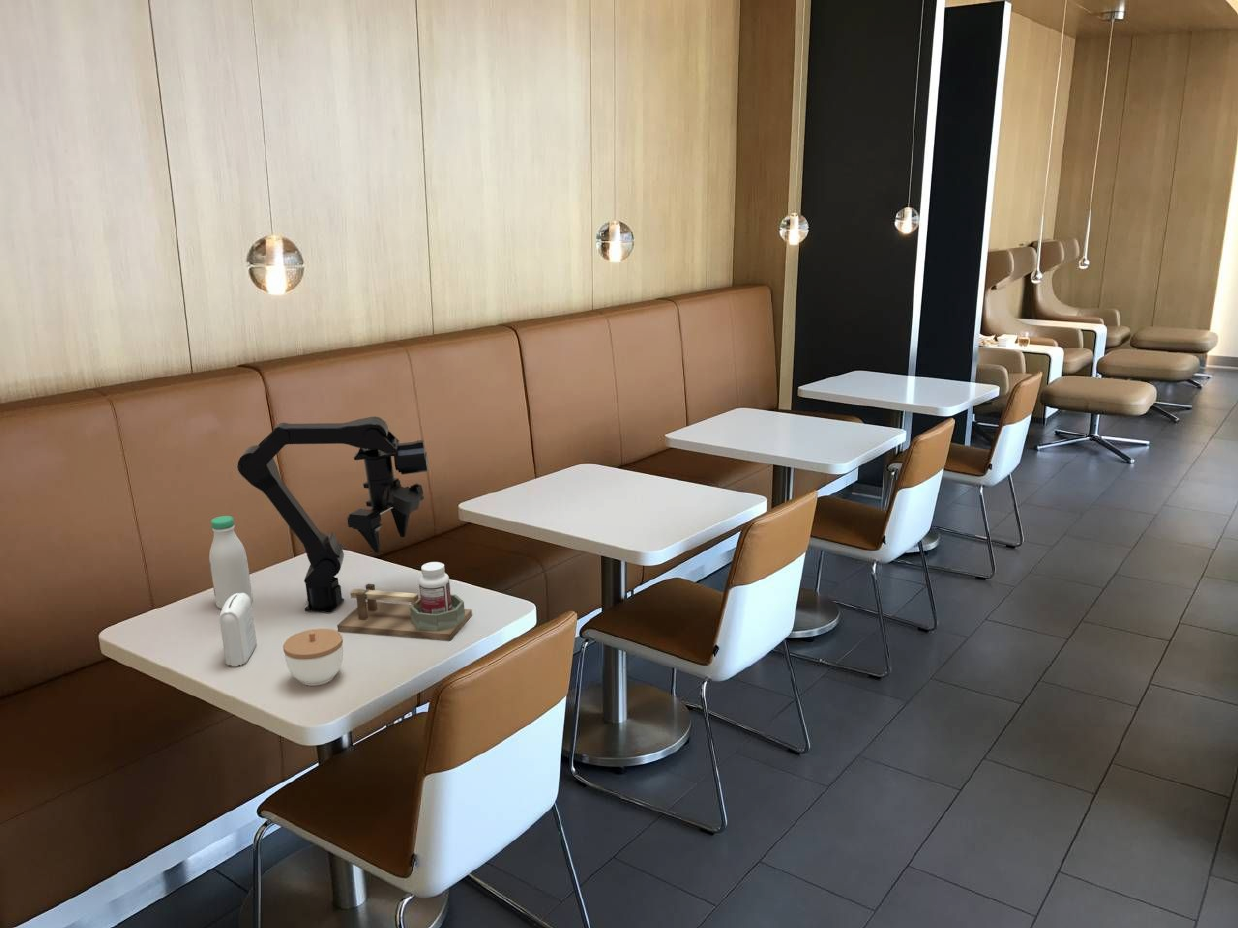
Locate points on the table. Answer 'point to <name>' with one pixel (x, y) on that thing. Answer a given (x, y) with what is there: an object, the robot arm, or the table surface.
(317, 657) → the lidded jar
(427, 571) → the pill bottle
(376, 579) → the table surface
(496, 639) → the table surface
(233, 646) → the photo printer
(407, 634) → the catapult base
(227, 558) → the milk bottle
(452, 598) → the catapult arm
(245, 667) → the table surface
